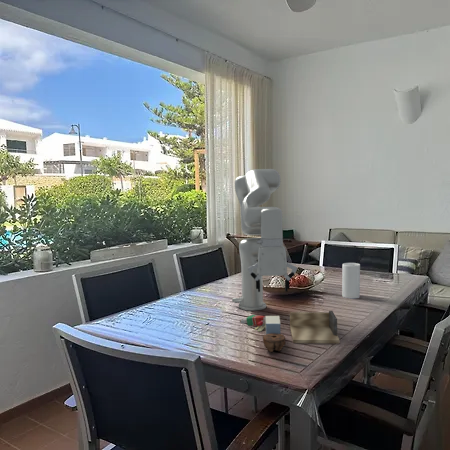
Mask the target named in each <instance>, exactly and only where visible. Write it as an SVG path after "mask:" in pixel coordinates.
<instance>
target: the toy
mask: <svg viewBox="0 0 450 450" xmlns="http://www.w3.org/2000/svg"><path fill="white" fill-rule="evenodd" d="M266 316H267V315H265V316H264V315H256V314H251V315H248V316H247V317H245V318H242V319H239V323H240V324H247V325H246V326H255V328H253V330H254V331H257V332H259V333H260V332H263V330H264V329H266Z"/></svg>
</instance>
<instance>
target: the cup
mask: <svg viewBox="0 0 450 450" xmlns="http://www.w3.org/2000/svg"><path fill="white" fill-rule="evenodd" d="M341 269H342V274H341V276H342V278H341V279H342V280H341V281H342V283H341V286H342V287H341V292H342V294H341V295H342V296H341V297H343V298H344V299H353V300H354V299H359V298H360V297H361V296H360V295H361V292H360V291H361V264H360V263H358V262H357V263H356V262H344V263H342V268H341Z"/></svg>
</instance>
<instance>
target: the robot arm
mask: <svg viewBox="0 0 450 450" xmlns="http://www.w3.org/2000/svg"><path fill="white" fill-rule="evenodd" d="M280 185H281V175H280V173H279V172H278V170H276V169H274V168H261V169H260V168H259V169H258V168H256V169H255V168H254V169H250V170H249V171H248V172H246V174H244V175H239V176H236V178H235V181H234V191H235V193H236V197H237V200H238V201H239V207H240V209H239V210H240V225H241V226H240V228H241V231H242V233H243V235H244V236H245V235H246V236H260V237H252V238H251V237H250V238H244V239H242V240H241V241H240V242H239V244H238V251H239V258H240V265H241V266H240V268H241V270H240V271H241V275H240V276H241V297H232V298H231V299H232V301H231V302H232V303H234V304H238V308H239V309H240V310H243V311H250V312H251V311H262V310H265V309H266V308H267V303H265V302H264V296H263V295H264V293H263V292H264V290H263V289H264V288H263V286H264V285H263V277H284V278H285V279H284V291H285V292H286V293H287V292H289V289H290V281H291V279H292V278H293V277H294V276H295V274H296V272H297V270H298V267H297V266H295V265H294V264H291V263H289V262H287V261H288V259H287V250H286V246H284V244H283V243H284V242H283V240H284V239H283V238H284V237H283V235H284V234H283V211H282V209H281V208H279V207H277V206H261V205H263V204H265V203H267V202H268V201H269V200H270V198H271V196H272V195H271V194H272V193H274V192H275V191H277V190H278V189H279V187H280ZM288 268H289V269H291V271H290V273H288Z"/></svg>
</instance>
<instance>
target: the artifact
mask: <svg viewBox="0 0 450 450" xmlns="http://www.w3.org/2000/svg"><path fill="white" fill-rule="evenodd" d="M262 342H263V345H264V347H265V349H266V350H267V351H268V352H269V353H273V352H274V351H278V352H281V351H282V349H283V348H284V347H285V345H286V336H285V335H284V334H282V333H281V334H275V333H270V334H266V333H265V334H264V335H262Z"/></svg>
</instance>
